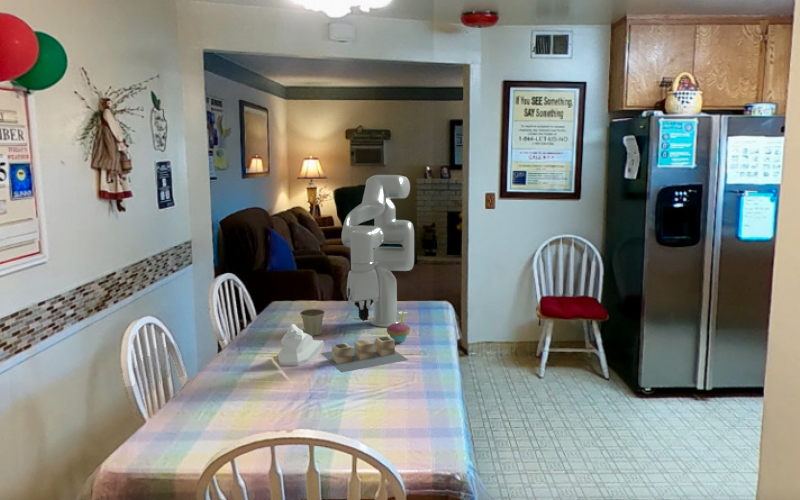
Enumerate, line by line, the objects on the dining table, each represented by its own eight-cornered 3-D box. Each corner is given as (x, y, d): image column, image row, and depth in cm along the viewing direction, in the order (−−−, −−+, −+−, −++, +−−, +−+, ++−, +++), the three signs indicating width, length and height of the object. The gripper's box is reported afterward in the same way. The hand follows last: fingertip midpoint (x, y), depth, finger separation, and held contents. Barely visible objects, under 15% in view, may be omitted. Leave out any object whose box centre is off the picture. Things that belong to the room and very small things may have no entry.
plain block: (367, 353, 203) (367, 339, 202) (373, 357, 199) (373, 343, 198) (354, 355, 201) (354, 341, 200) (360, 360, 196) (359, 345, 196)
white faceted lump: (314, 372, 191) (306, 335, 186) (272, 373, 195) (262, 337, 189) (325, 351, 203) (317, 315, 197) (285, 351, 206) (276, 317, 200)
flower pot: (323, 337, 222) (322, 315, 221) (298, 337, 222) (298, 315, 221) (327, 330, 231) (326, 309, 230) (303, 330, 231) (302, 309, 230)
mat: (383, 344, 214) (383, 342, 214) (408, 361, 196) (408, 359, 196) (321, 354, 203) (321, 353, 203) (341, 374, 186) (341, 372, 186)
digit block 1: (346, 356, 199) (345, 342, 199) (351, 361, 195) (351, 346, 194) (332, 359, 197) (332, 344, 196) (337, 363, 193) (337, 348, 192)
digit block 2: (388, 349, 206) (388, 335, 206) (394, 353, 202) (394, 339, 201) (375, 351, 204) (375, 337, 203) (381, 356, 200) (381, 341, 199)
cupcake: (410, 338, 220) (410, 307, 218) (408, 345, 212) (408, 314, 210) (388, 337, 221) (387, 307, 219) (385, 345, 213) (384, 313, 211)
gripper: (378, 262, 201) (379, 313, 205) (337, 267, 195) (339, 319, 198) (387, 266, 194) (388, 319, 198) (345, 271, 188) (347, 326, 192)
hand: (363, 319), depth 198 cm, fingers closed
